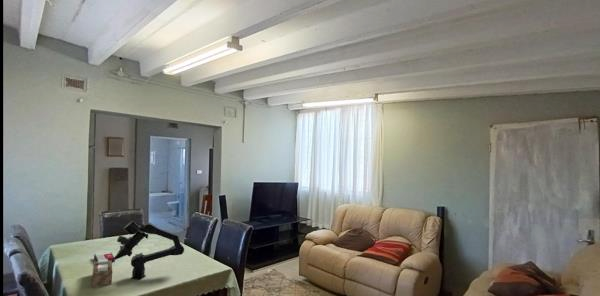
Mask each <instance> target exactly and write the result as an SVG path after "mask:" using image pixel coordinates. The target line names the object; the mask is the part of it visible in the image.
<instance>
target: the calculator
mask: <svg viewBox="0 0 600 296" xmlns="http://www.w3.org/2000/svg"><path fill="white" fill-rule="evenodd" d="M114 257H115V256H114V255H113V253H112V252H111V251H107V252H99V253H95V254H93V260H94V262H98V260H102V259H108V260H112V263H115V262H116V260H115V259H114Z"/></svg>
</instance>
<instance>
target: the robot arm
mask: <svg viewBox="0 0 600 296" xmlns="http://www.w3.org/2000/svg"><path fill="white" fill-rule="evenodd" d="M123 229H124V231H126V232H127V233H128V234H129V235H132V236H129V237H126V236H124V235H119V236H118V238H117V239H116V241H117V242H118V243H120V246H119V250H118V251H117V253H116V254H115V256H114V259H115V261H116V260H118V259H121V258H123V257H126V256H128V257H131V256H132V255H133V249H134V248H135V247H136V246H138V245H139V243H140V242H141V241H143V239H144V238H145V239H147V240H148V239H149V235H157V236H159V237H162V238H165V239H168V240H171V241H173V244H174V245H172V246H171V247H169V248H166V249H164V250H163V249H162V250H159V251H155V252H152V253H147V254H143V252H140V253H137V254H135V255H133V256H132V257H131V258H130V266H131V267H132V273H131V277H130V279H133V280H142V279H144V278H145V277H147V274H146V275H145V273H146V272H145V270H146V267H145V264H146V263H149V262H150V261H155V260H158V259H162V258H166V257H169V256H182V255H183V254H184V252H185V248H184V246H183V244H181V242H180V237H179V235H178V234H176V233H172V232H170V231H167V230H165V229H161V228H160V227H157V226H156V225H154V223H152V222H145V224H141V225H138V224H137V223H136V222H135V221H134V220H131V221H130V222H129V223H127V224H126V225H125V226H124V227H123Z"/></svg>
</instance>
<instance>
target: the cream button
mask: <svg viewBox="0 0 600 296" xmlns="http://www.w3.org/2000/svg"><path fill="white" fill-rule="evenodd" d="M107 270H108V264H105V265H98V272H99V271H107Z"/></svg>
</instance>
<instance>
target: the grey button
mask: <svg viewBox="0 0 600 296" xmlns="http://www.w3.org/2000/svg"><path fill="white" fill-rule="evenodd" d="M105 264H108V259H102V260H98V265H105Z"/></svg>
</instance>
